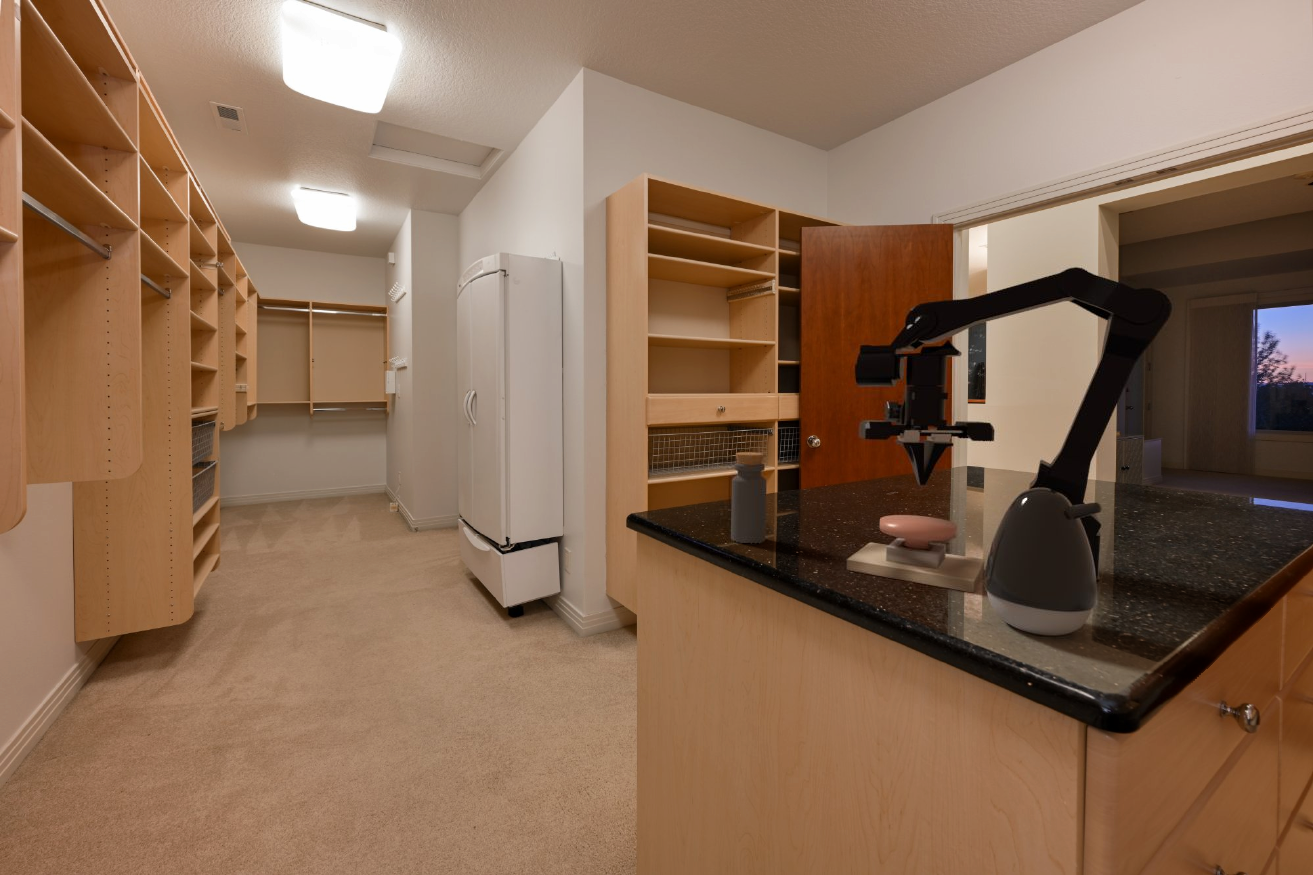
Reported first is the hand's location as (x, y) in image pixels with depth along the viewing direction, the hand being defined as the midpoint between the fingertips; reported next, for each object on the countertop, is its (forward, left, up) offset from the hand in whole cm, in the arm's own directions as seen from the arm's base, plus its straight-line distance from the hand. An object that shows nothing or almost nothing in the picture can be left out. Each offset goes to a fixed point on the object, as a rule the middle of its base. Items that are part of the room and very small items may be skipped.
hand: (921, 485), depth 91 cm
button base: (-1, +11, -11) cm, 15 cm away
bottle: (+25, +10, -11) cm, 29 cm away
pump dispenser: (-17, +25, -11) cm, 32 cm away
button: (-2, +10, -7) cm, 13 cm away
